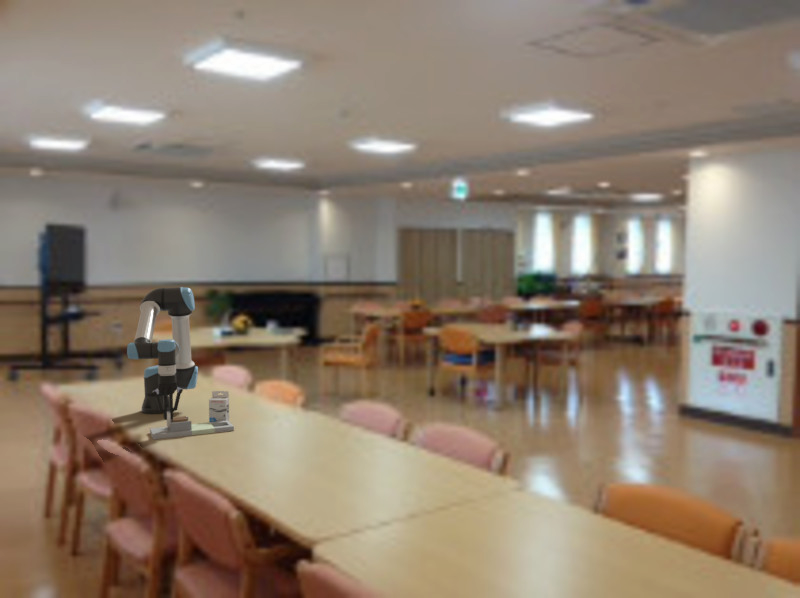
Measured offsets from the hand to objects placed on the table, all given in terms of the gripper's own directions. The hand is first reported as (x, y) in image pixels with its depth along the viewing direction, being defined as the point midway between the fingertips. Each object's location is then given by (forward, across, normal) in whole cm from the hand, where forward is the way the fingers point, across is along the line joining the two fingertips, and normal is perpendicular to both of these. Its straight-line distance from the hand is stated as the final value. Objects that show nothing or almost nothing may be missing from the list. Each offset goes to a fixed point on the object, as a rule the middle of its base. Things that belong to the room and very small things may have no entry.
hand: (168, 426), depth 323 cm
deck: (+4, +10, 0) cm, 11 cm away
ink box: (+4, +24, +13) cm, 28 cm away
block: (+2, +5, 0) cm, 5 cm away
